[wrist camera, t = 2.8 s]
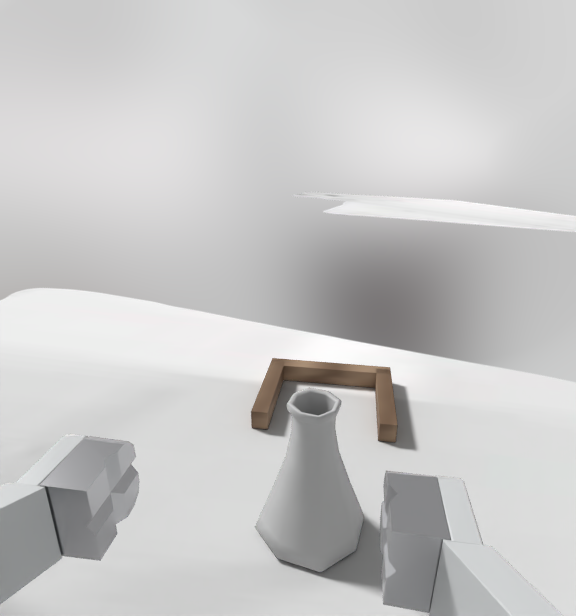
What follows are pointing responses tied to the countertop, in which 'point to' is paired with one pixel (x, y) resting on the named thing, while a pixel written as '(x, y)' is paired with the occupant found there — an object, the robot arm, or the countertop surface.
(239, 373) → the countertop surface
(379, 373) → the dock
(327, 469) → the flask
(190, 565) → the countertop surface
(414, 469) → the countertop surface
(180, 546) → the countertop surface
